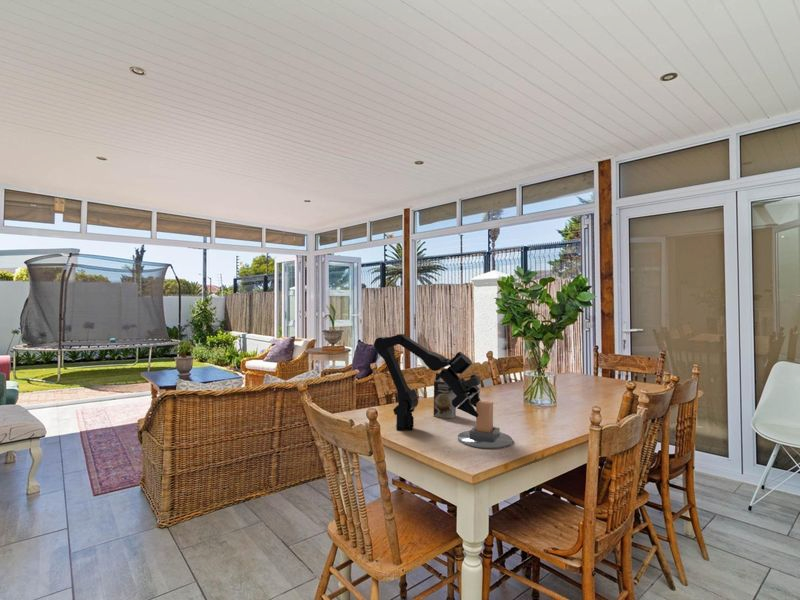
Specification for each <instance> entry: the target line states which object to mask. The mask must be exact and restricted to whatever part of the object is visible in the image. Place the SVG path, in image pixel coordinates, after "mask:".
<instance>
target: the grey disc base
mask: <svg viewBox="0 0 800 600" xmlns="http://www.w3.org/2000/svg"><path fill="white" fill-rule="evenodd" d="M457 441H458V442H459V443H461V445H465V446H467V447H472V448H476V449H485V450H494V449H495V450H497V449H504V447H505V448H507V446H508V447H510V446H512V445H513V438H512V437H511V435H509V434H506V433H503V432H501V429H500V427H494V426H493V432H492V433H489V432H481V431H476V425H474V426H473V427H472V428H471V429H470V430H465V431H462V432H460V433H458V434H457Z"/></svg>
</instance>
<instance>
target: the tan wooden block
mask: <svg viewBox="0 0 800 600" xmlns="http://www.w3.org/2000/svg"><path fill="white" fill-rule="evenodd" d="M475 408H476V409H475V410H476V412H477V413H478V415H479V416H478V417H475V424H476V425H475V426H476V431H481V432H489V433H492V432H493V427H494V402H493V401H486V400H481V401H479V402H477V403H476V407H475Z"/></svg>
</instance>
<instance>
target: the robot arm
mask: <svg viewBox="0 0 800 600" xmlns="http://www.w3.org/2000/svg"><path fill="white" fill-rule="evenodd" d="M398 345H400V346H401V347H403V348H404V349H406V350H407V351H408V352H411V354H413V355H415V356H416V357H418V358H419V359H420V360H422V362H423V363H424V365H426V367H427V368H429V369H430V370H431V371H433V372H436V373H435V378H434V379H435V380H436V381H437V380H443V381H444V382H445V384H446V385H447V386H448V387H449V389H448V390H449V391H452V392H453V393H454V394H455V395H456V397H455V398H454V399H453V400H452V405H453V407H454V408H456V410H460V411H463V412H464V413H466V414H469V415H471V416H473V417H475V418H476V417H478V416H479V415H478V413H477V412H476V409H475V408H476V403H477V402H479V401H482V400H481V399H480V392H481V389H480V388H479V385H481V384H482V382H481V377H479V375H477V374H475V373H474V374H471V375H470V376H469V379H465V378H463V377H460V376H459V374H460V375H462V374H464V372H466V370H468V369H469V368H470V367H471V366H472V365H473V362H472V360H471V359H470V357H468V356H467V355H466V354H464V353H462V352H461V351H458V352H456V354H455V355H454V356H453V358H452V359H449V358H446V357H445V356H444V355H442V354H439V353H437V352H435V351H431V350H429V349H427V348H426V347H425V346H423V345H421V344H419V343H418V342H416V341H415V340H414V339H412V338H410V337H408V336H407V335H406V334H405V333H399V334H396V335H392V336H381V337H377V338H376V339H375V340H374V342H373V347H374V349H375V351H376V353H378V355H379V356H380V357H381V358H382V359H383V360H384V363H385V365H386V368H387V369H388V372H389V375H390V377H391V379H392V382H393V384H394V386H395V389H396V393H397V395H396V396H397V397H396V399H397V403H398V404H397V405H395V407H394V408H393V409H392V410H393V414H394V415H395V416H396V423H395V428H396V430H397V431H413V428H414V424H415V423H414V419H415V418H414V416H413V413H414V411H415V409H416V408H417V406H418V404H419V395H417V392H416V390H415V388H413V389H412V388H410V387H409V385H408V383H407V381H406V378H405V376H404V375H403V372H402V370H401V368H400V367H401V366H400V365H399V362H398V360H397V357H396V355H395V346H398ZM446 367H447V368H446ZM440 370H441V371H440ZM437 371H439V372H437ZM435 380H434V381H435Z"/></svg>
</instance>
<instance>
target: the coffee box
mask: <svg viewBox="0 0 800 600" xmlns="http://www.w3.org/2000/svg"><path fill="white" fill-rule="evenodd" d="M448 389H449V387H448V386H447V385H446V384H445V382H444V381H443V380H442V379H439V380H437V381H436V380H434V381H433V417H434V416H435V418H442V417H443V419H451V418H452V419H454V418H455V417H456V416H457V413H456V412H457V411H456V410H457V407H456V408H454V407H453V405H452V400H453V399H454V398H455V397H456V395H455V394H454V393H453V392H452V391H449V390H448ZM453 417H454V418H453Z"/></svg>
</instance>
